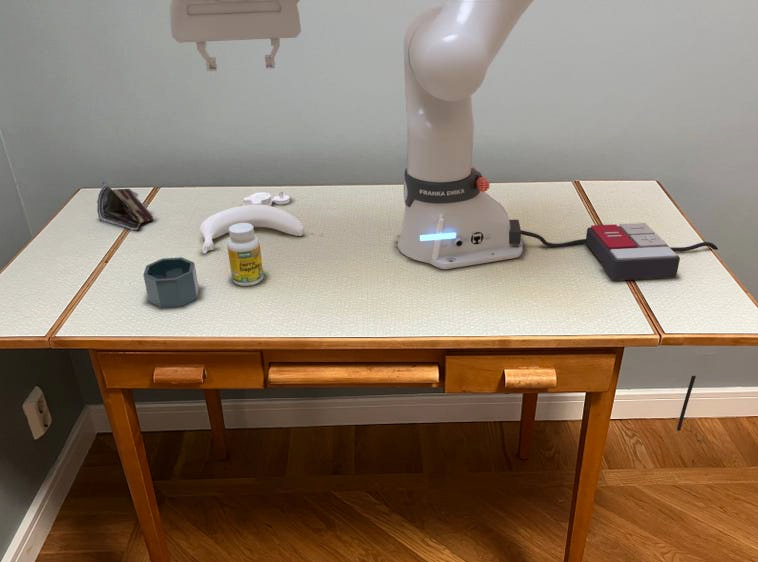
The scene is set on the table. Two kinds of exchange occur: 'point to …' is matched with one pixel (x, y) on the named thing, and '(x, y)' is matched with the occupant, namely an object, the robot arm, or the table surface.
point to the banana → (251, 215)
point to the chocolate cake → (122, 208)
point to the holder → (171, 282)
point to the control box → (632, 252)
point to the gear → (265, 199)
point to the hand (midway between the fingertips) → (241, 68)
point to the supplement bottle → (244, 255)
